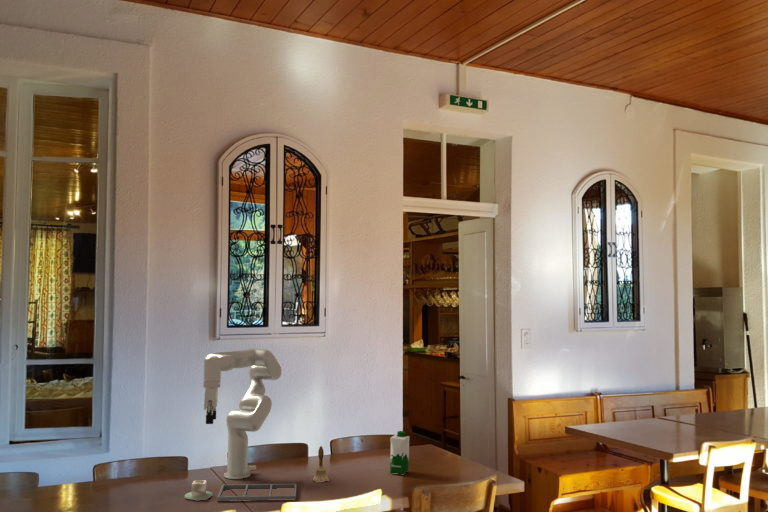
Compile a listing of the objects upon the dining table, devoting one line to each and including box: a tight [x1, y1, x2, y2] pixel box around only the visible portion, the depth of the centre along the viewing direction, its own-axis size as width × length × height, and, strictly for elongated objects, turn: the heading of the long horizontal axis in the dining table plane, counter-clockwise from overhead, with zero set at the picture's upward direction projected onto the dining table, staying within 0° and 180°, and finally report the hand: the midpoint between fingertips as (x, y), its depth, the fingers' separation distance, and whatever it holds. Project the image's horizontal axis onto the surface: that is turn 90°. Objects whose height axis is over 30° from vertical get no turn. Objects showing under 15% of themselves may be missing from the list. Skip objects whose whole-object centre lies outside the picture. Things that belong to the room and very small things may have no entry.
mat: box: [184, 490, 214, 500], centre depth 305 cm, size 12×12×1 cm
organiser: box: [216, 483, 297, 502], centre depth 308 cm, size 33×18×2 cm, turn 96°
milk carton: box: [389, 430, 411, 474], centre depth 348 cm, size 9×9×20 cm
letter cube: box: [191, 479, 207, 497], centre depth 305 cm, size 6×6×6 cm
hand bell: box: [312, 446, 330, 481], centre depth 333 cm, size 8×8×16 cm
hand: (210, 421), depth 317 cm, fingers open, 9 cm apart
